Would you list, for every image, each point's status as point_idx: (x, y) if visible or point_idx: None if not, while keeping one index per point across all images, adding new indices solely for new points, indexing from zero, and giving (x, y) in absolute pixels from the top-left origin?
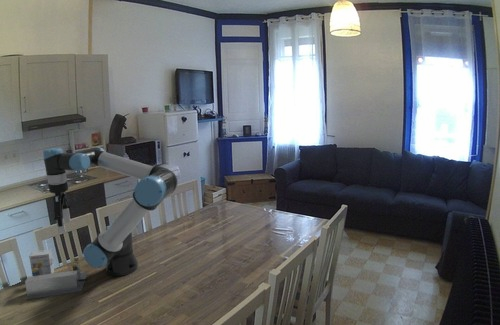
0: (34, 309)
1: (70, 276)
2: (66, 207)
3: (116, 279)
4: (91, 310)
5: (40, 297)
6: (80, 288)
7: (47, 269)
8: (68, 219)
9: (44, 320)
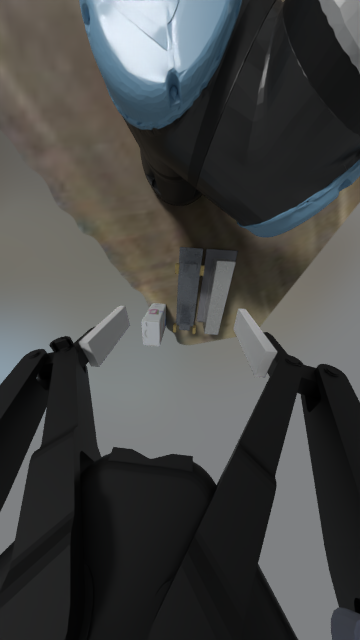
0: (250, 309)
1: (232, 271)
2: (77, 355)
3: None
4: (313, 222)
5: None
6: (230, 253)
7: (164, 312)
8: (121, 315)
9: (287, 292)
